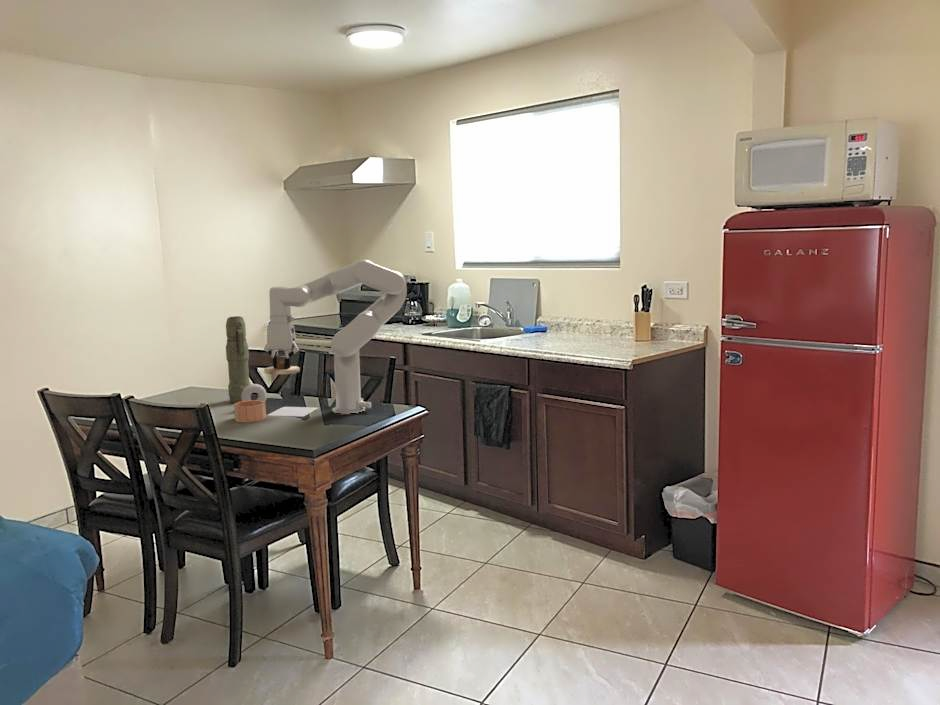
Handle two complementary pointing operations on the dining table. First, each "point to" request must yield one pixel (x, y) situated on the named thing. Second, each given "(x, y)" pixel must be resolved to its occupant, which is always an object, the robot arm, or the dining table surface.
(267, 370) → the lid
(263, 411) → the bowl
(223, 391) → the dining table surface
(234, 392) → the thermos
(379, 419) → the dining table surface
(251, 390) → the donut
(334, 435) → the dining table surface
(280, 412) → the mat
